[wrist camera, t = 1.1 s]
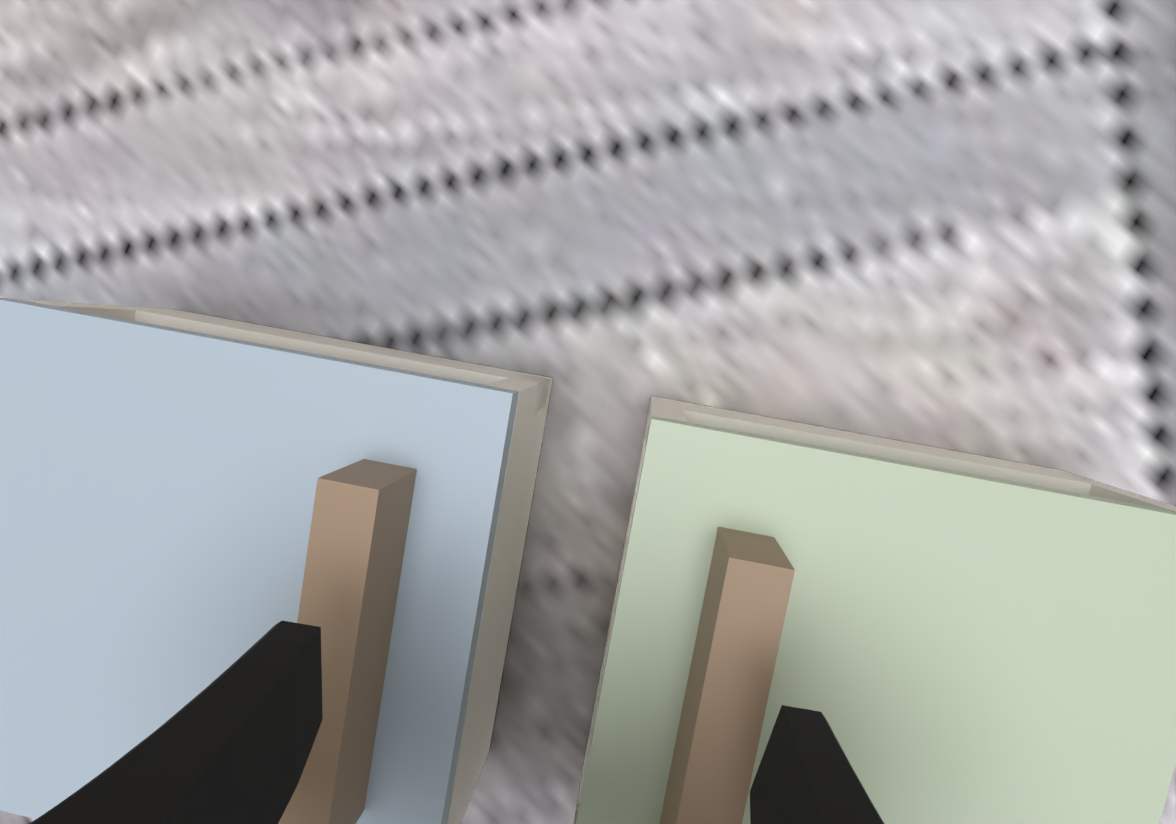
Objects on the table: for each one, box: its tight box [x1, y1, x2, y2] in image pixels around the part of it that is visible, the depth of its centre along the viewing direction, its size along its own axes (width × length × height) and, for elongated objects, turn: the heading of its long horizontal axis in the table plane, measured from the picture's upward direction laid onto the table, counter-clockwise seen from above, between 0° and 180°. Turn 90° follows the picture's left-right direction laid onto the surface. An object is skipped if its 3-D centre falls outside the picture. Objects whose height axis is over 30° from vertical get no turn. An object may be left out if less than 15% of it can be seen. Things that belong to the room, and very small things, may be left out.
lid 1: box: [0, 298, 519, 824], centre depth 17 cm, size 12×12×3 cm
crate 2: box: [574, 396, 1176, 824], centre depth 21 cm, size 12×12×6 cm
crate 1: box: [23, 300, 553, 824], centre depth 22 cm, size 12×12×6 cm
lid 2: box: [576, 415, 1176, 824], centre depth 16 cm, size 12×12×3 cm
